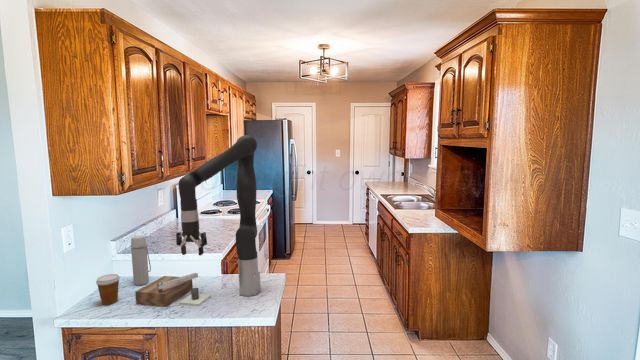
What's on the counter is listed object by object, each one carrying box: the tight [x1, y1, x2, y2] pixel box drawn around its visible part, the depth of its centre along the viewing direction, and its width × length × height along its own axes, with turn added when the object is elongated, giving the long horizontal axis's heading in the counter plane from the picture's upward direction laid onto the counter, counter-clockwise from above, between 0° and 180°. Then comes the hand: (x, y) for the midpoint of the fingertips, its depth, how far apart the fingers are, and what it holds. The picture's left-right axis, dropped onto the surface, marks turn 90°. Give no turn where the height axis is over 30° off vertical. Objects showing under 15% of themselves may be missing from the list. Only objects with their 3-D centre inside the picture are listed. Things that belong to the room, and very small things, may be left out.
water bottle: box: [130, 234, 152, 286], centre depth 190 cm, size 9×8×25 cm
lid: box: [178, 287, 212, 307], centre depth 166 cm, size 10×10×6 cm
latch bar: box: [157, 272, 199, 289], centre depth 168 cm, size 2×19×2 cm, turn 138°
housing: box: [134, 275, 194, 308], centre depth 172 cm, size 16×20×8 cm
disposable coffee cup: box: [95, 273, 120, 306], centre depth 167 cm, size 10×10×12 cm
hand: (192, 254), depth 164 cm, fingers open, 8 cm apart
